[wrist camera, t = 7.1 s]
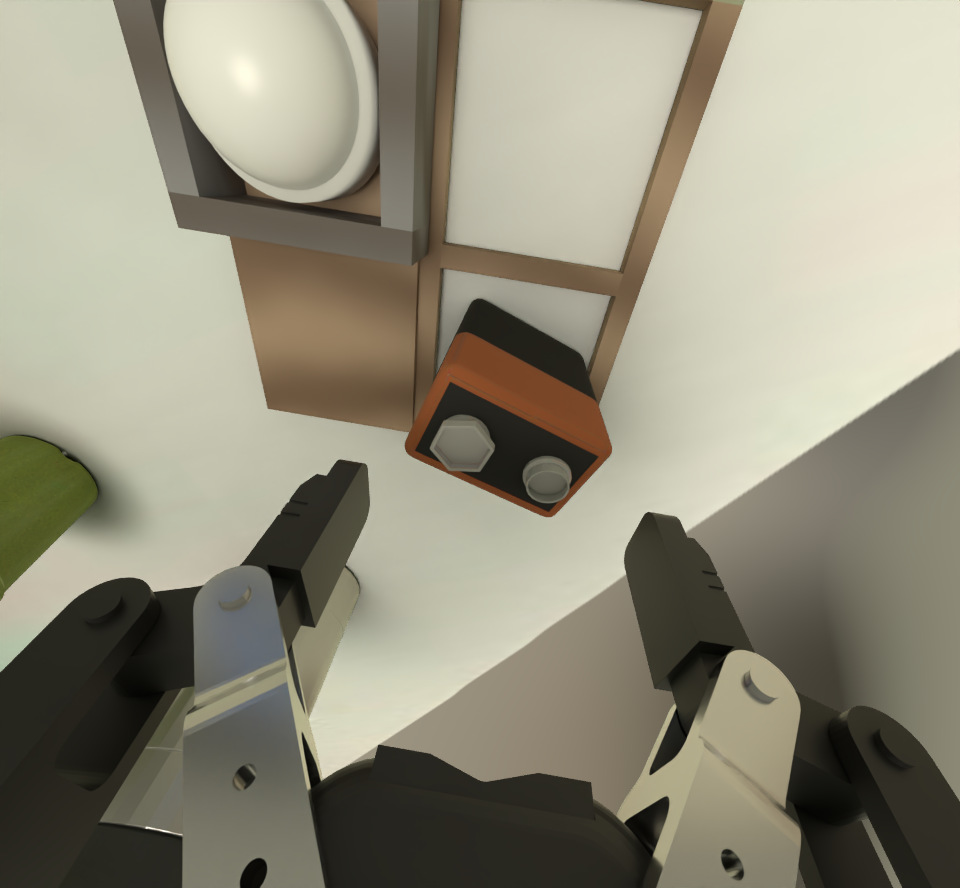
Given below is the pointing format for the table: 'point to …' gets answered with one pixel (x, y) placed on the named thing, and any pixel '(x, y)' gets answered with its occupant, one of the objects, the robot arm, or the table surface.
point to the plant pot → (36, 501)
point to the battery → (511, 413)
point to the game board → (388, 220)
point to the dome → (280, 91)
